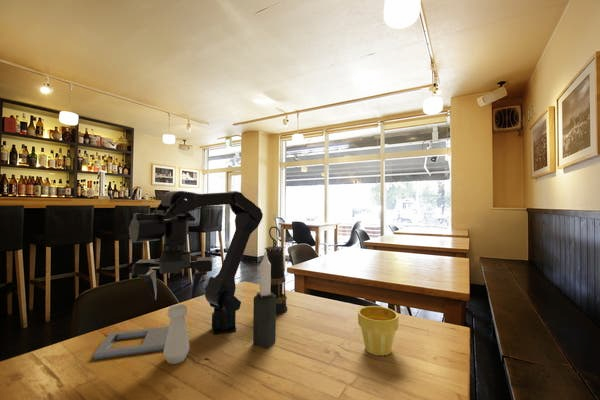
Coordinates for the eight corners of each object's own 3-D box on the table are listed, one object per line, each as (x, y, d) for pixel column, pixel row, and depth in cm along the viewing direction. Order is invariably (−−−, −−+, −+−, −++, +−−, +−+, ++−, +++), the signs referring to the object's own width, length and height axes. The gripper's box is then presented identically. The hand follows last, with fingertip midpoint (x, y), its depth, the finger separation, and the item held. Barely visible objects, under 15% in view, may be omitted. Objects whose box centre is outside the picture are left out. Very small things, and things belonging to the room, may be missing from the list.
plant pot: (350, 351, 73) (351, 313, 73) (367, 336, 82) (367, 302, 82) (390, 365, 67) (390, 324, 67) (403, 348, 75) (403, 311, 75)
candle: (277, 340, 78) (278, 251, 79) (267, 349, 74) (268, 254, 74) (261, 336, 81) (262, 249, 81) (251, 344, 76) (252, 252, 76)
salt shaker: (179, 367, 65) (180, 311, 65) (157, 364, 66) (158, 309, 66) (194, 354, 71) (194, 302, 71) (173, 351, 72) (174, 300, 72)
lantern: (277, 303, 107) (278, 224, 107) (292, 310, 100) (294, 226, 100) (257, 309, 101) (258, 226, 101) (272, 317, 94) (273, 227, 94)
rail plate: (186, 329, 84) (186, 324, 84) (183, 347, 74) (183, 341, 74) (109, 338, 78) (109, 333, 78) (93, 359, 68) (93, 353, 68)
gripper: (125, 244, 63) (123, 313, 63) (211, 242, 68) (210, 306, 68) (139, 237, 74) (137, 297, 74) (213, 236, 79) (211, 292, 79)
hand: (174, 298), depth 73 cm, fingers open, 9 cm apart
